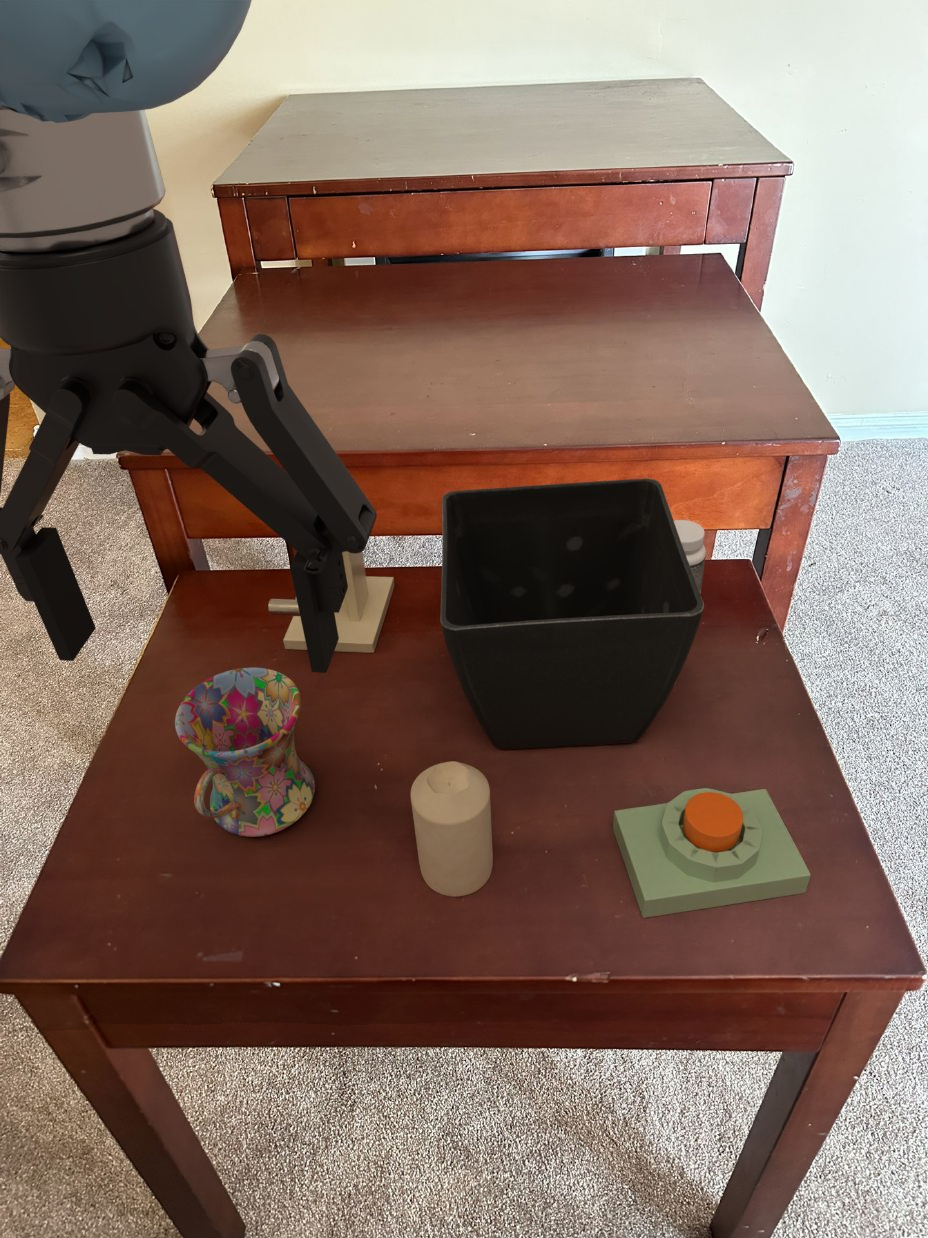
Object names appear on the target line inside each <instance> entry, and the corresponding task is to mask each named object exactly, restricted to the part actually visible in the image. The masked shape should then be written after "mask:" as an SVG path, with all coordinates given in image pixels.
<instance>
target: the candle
mask: <svg viewBox="0 0 928 1238" xmlns="http://www.w3.org/2000/svg"><path fill="white" fill-rule="evenodd" d="M410 803H411V810H412V818H413V826H414V833H415V841H416V849H417V857H418V863H419V870H420V873H421V876H422V879H423V880H424V882H425V883H426V885H427V886H428V887H429V888H430V889H431V890H433V891H434V892H436V893H438V894H440V895H443V896H447V897H455V898H457V897H464V896H468V895H471V894H473V893H475V892H477V891H479V890H480V889H481V888H482V887H483V886H485V884H486V883H487V882H488V880H489V879H490V877H491V874H492V871H493V867H494V853H493V852H494V850H493V831H492V828H493V827H492V810H491V809H492V808H491V789H490V785H489V781H488V779H487V778H486V776H485V775H484V774H483V772H481V771H480V770H479V769H478V768H476V767H474V766H473V765H470V764H467V763H463V762H459V761H455V760H454V761H453V760H452V761H445V762H440V763H437V764H434V765H432V766H430V767H428V768H426V769H425V770H423V771H422V772H420V774H418V776H416V778H415V780H414V781H413V783H412V785H411V788H410Z"/></svg>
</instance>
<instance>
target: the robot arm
mask: <svg viewBox="0 0 928 1238" xmlns="http://www.w3.org/2000/svg"><path fill="white" fill-rule="evenodd" d="M252 1H253V0H0V340H2V341H3V343H5V344H6V345H8V346H9V348H3V347H0V496H1V493H2V484H3V475H4V464H5V454H6V446H7V445H6V444H7V437H8V436H7V435H8V426H9V417H10V407H11V392H13V391H14V390H15V388H16V387H17V388H18V390H19V391H20V392H21V393H22V394H23V395H25V396H26V397H27V398H28V399H30V401H31V402H33V404H35V405H36V406H37V407H38V408H39V409H40V410H41V411H42V412H43V413H44V416H43V418H42V421H41V422H40V424H39V426H38V428H37V431H36V432H35V434H34V437H33V439H32V441H31V443H30V445H29V447H28V450H29V453H28V455H27V457H26V459H25V460H24V463H23V465H22V467H21V469H20V471H19V473H18V475H17V477H16V479H15V481H14V484H13V486H12V488H11V489H10V492H9V494H8V496H7V498H6V500H5V502H4V504H3V506H0V555H1V558H2V560H3V562H4V565H5V567H6V569H7V571H8V574H9V576H10V577H11V580H12V583H13V584H14V586H15V588H16V589H15V590H16V591H17V593H18V594H19V596H21V598H22V599H23V600H24V601H25V602H33V603H34V606H35V608H36V610H37V612H38V614H39V617H40V619H41V621H42V624H43V626H44V628H45V629H46V633H47V635H48V637H49V639H50V642H51V644H52V646H53V648H54V651H55V653H56V655H57V657H58V660H59V661H65V662H66V661H68V662H74V660H75V659H76V658H77V656H78V655H79V653H80V652H81V650H82V649H83V648H84V646H85V644H86V643H87V642H88V641H89V640H90V638H91V636H92V635H93V633H94V632H95V630H96V629H97V627H96V624H95V622H94V620H93V617H92V615H91V612H90V610H89V607H88V605H87V603H86V599H85V597H84V594H83V592H82V590H81V587H80V585H79V582H78V579H77V577H76V573H75V572H74V569H73V567H72V563H71V562H70V558H69V556H68V555H67V554H68V553H67V552H66V549H65V546H64V544H63V542H62V539H61V537H60V534H59V532H58V529H57V527H48V526H47V527H46V526H43V527H42V526H41V528H40V529H39V530H38V531H37V532H36V531H35V527H36V526H37V524H38V523H39V522H40V521H41V520H42V519H43V518H44V517H45V515H43V513H44V511H45V509H46V508H47V506H48V504H49V503H50V500H51V498H52V497H53V494H54V493H55V491H56V489H57V487H58V486H59V483H60V482H61V480H62V478H63V475H64V474H65V472H66V470H67V468H68V466H69V465H70V462H71V461H72V459H73V457H74V455H75V453H76V451H77V449H78V448H79V446H80V445H81V446H84V447H86V448H89V449H91V452H92V455H113V454H114V455H115V454H117V453H120V452H124V451H126V452H130V453H134V454H137V455H142V456H162V454H163V453H164V452H165V451H166V450H168V451H169V452H171V454H173V456H175V457H177V459H179V460H180V461H181V462H182V463H183V464H184V465H186V466H187V467H189V468H192V469H200V470H202V471H203V472H205V473H206V474H207V475H208V476H209V477H210V478H211V479H213V480H214V481H215V482H216V483H217V484H219V486H221V487H222V488H223V489H224V490H226V492H227V493H228V494H230V495H231V496H233V497H234V498H235V499H236V500H237V501H238V502H239V503H241V504H242V506H244V507H245V508H246V509H247V510H249V511H250V512H251V513H252V514H253V515H255V516H256V518H258V519H259V520H260V521H261V522H263V523H264V524H265V525H266V527H268V528H270V530H272V531H273V532H274V533H275V534H277V536H279V537H280V538H281V539H282V540H283V541H285V542H286V543H287V544H288V545H289V546H290V547H291V548H292V549H294V550H295V551H296V552H295V555H294V557H293V559H292V562H291V564H290V565H289V569H290V574H291V579H292V583H293V588H294V593H295V598H297V603H298V608H299V613H300V617H301V622H302V627H303V632H304V636H305V641H306V646H307V650H306V651H307V655H308V659H309V666H310V669H311V673H319V674H327V673H328V670H329V667H330V665H331V662H332V658H333V656H334V653H335V652H336V651H335V648H336V645H337V642H338V639H339V636H338V631H337V625H336V620H335V614H334V613H339V611H340V608H341V606H342V603H343V600H344V598H345V595H346V592H347V589H348V584H347V578H346V572H345V566H344V560H343V552H346V551H347V552H349V553H354V554H356V553H361V552H362V553H363V551H365V549H366V548H367V546H368V542H369V540H370V537H371V534H372V531H373V528H374V526H375V523H376V520H377V518H378V517H377V516H378V515H377V510H376V509H375V507H374V505H372V503H371V501H370V500H369V499H368V497H367V495H366V494H365V493H364V491H363V489H362V487H360V486H359V485H358V483H357V481H356V480H355V478H354V477H353V475H352V474H351V473H350V471H349V470H348V468H347V466H346V465H345V464H344V462H343V461H342V460H341V457H339V455H338V454H337V452H336V451H335V449H334V448H333V447H332V445H331V444H330V442H329V440H328V439H327V438H326V437H325V435H324V433H323V432H322V431H321V429H320V428H319V426H318V424H317V423H316V422H315V420H314V419H313V418H312V416H311V415H310V413H309V412H308V411H307V409H306V407H305V406H304V405H303V403H302V402H301V400H300V399H299V397H298V396H297V395H296V393H295V392H294V390H293V389H292V387H291V386H290V384H289V381H288V379H287V375H286V371H285V369H284V365H283V362H282V359H281V358H282V357H281V356H280V351H279V348H278V346H277V344H276V341H275V340H274V339H273V338H271V336H269V335H267V334H265V333H258V334H255V335H253V336H252V337H251V338H250V339H249V341H248V342H247V343H246V344H245V345H240V346H239V345H237V346H231V347H223V348H222V347H221V348H214V349H209V347H208V346H207V345H206V344H205V342H204V341H203V339H202V338H201V336H200V334H199V332H198V330H197V328H196V326H195V322H194V314H193V313H194V312H193V303H192V298H191V294H190V289H189V285H188V282H187V276H186V273H185V269H184V265H183V261H182V256H181V252H180V248H179V245H178V244H179V243H178V240H177V235H176V231H175V227H174V224H173V222H172V220H171V219H170V218H168V217H166V215H165V213H163V212H162V211H160V210H158V209H156V207H157V206H159V205H160V204H161V202H162V201H163V199H164V197H165V195H166V192H167V190H166V187H165V182H164V178H163V175H162V172H161V171H162V170H161V167H160V164H159V160H158V156H157V151H156V149H155V148H156V147H155V145H154V141H153V137H152V132H151V129H150V125H149V122H148V121H149V120H148V117H147V114H146V110H152V109H156V108H158V107H161V106H165V105H168V104H171V103H173V102H175V101H177V100H179V99H180V98H182V97H184V96H186V95H187V94H190V93H191V92H193V91H194V90H196V89H198V88H199V87H200V86H201V85H202V84H203V83H204V82H205V81H206V80H207V79H208V78H209V77H210V76H211V75H212V74H213V73H214V72H215V71H216V70H217V68H218V67H219V66H220V65H221V63H222V62H223V61H224V59H225V58H226V57H227V55H228V54H229V53H230V50H231V49H232V47H233V45H234V44H235V42H236V40H237V38H238V36H239V34H240V33H241V31H242V29H243V26H244V23H245V21H246V20H247V19H246V18H247V16H248V14H249V10H250V7H251V4H252ZM213 382H214V383H216V384H218V385H220V386H222V387H223V388H224V389H225V391H226V392H227V397H228V400H229V401H230V402H231V403H233V404H241V405H242V408H243V410H244V413H245V414H246V416H247V419H248V421H249V422H250V423H251V425H252V427H253V428H254V429H255V431H256V432H257V434H258V435H259V437H260V438H261V439H262V440H263V442H264V444H266V446H267V447H268V449H269V450H270V452H271V453H272V454H273V456H274V457H275V458H276V460H277V461H278V463H280V465H281V466H280V465H279V464H278V463H277V462H276V461H275V460H273V459H272V458H271V457H270V455H268V454H267V453H266V452H265V451H264V450H262V449H261V447H259V446H258V445H257V444H256V443H255V442H253V441H252V440H251V439H250V438H249V437H248V436H247V435H246V434H245V433H244V432H242V430H240V429H239V428H238V427H237V425H236V422H235V419H234V416H233V415H232V413H230V412H229V410H228V409H226V408H225V407H224V406H223V405H222V404H221V403H220V402H218V401H217V399H215V398H214V396H212V395H211V394H210V393H209V392H208V391H209V389H210V386H211V384H212V383H213ZM193 421H195V422H197V423H198V424H199V425H200V427H201V432H200V433H199V434H198V433H196V432H195V431H194V430H193V429H192V428H190V427H191V425H192V422H193Z"/></svg>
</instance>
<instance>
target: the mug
mask: <svg viewBox="0 0 928 1238" xmlns="http://www.w3.org/2000/svg"><path fill="white" fill-rule="evenodd" d="M301 708H302V698H301V692H300V690H299V688H298V686H297V684H295V682H294V681H293V680H292V679H290V678H289V677H288V676H287V675H285V674H283V673H281V672H279V671H276V670H273V669H270V668H264V667H241V668H235V669H231V670H227V671H224V672H220V673H218V674H216V675H214V676H211V677H209V678H207V679H206V680H203V681H202V682H200V683H199V684H198V685H196V686H195V687H194V688H193V689H191V690H190V691H189V692H188V694H186V696H185V697H184V698H183V699H182V700H181V702H180V704H179V706H178V708H177V710H176V714H175V717H174V718H175V719H174V727H175V732H176V734H177V737H178V738H179V740H180V742H181V743H182V744H183V745H184V746H185V747H186V748H188V749H189V750H190V751H192V752H193V753H195V754H196V756H198V757H199V758H200V760H202V762H203V763H204V765H205V767H206V768H207V770H206V771H205V772H204V773H203V774H202V775H201V777H200V778H199V780H198V782H197V785H196V787H195V791H194V795H193V804H194V808H195V810H196V811H197V812H198V813H199V815H201V816H203V817H205V818H209V819H213V820H214V821H215V822H216V824H217V825H218V826H219V827H220V828H222V829H223V830H225V831H226V832H227V833H230V834H233V835H236V836H240V837H246V838H247V837H249V838H255V837H256V838H258V837H265V836H268V835H273V834H275V833H279V832H281V831H283V830H285V829H287V828H288V827H291V825H293V824H295V823H296V822H297V821H298V820H299V819H300V818H301V817H302V816H303V815H304V814H305V813H306V812H307V811H308V809H309V808H310V806H311V805H312V802H313V799H314V796H315V792H316V781H315V778H314V775H313V773H312V771H311V769H310V768H309V767H308V765H307V764H306V763H304V761H302V760H301V759H300V757H299V756H298V753H297V750H296V746H295V729H296V724H297V721H298V718H299V715H300V713H301ZM211 780H212V789H211V791H210V797H209V810H210V811H209V810H208V809H207V807H206V805H205V795H206V791H207V788H208V786H209V784H210V782H211Z"/></svg>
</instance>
